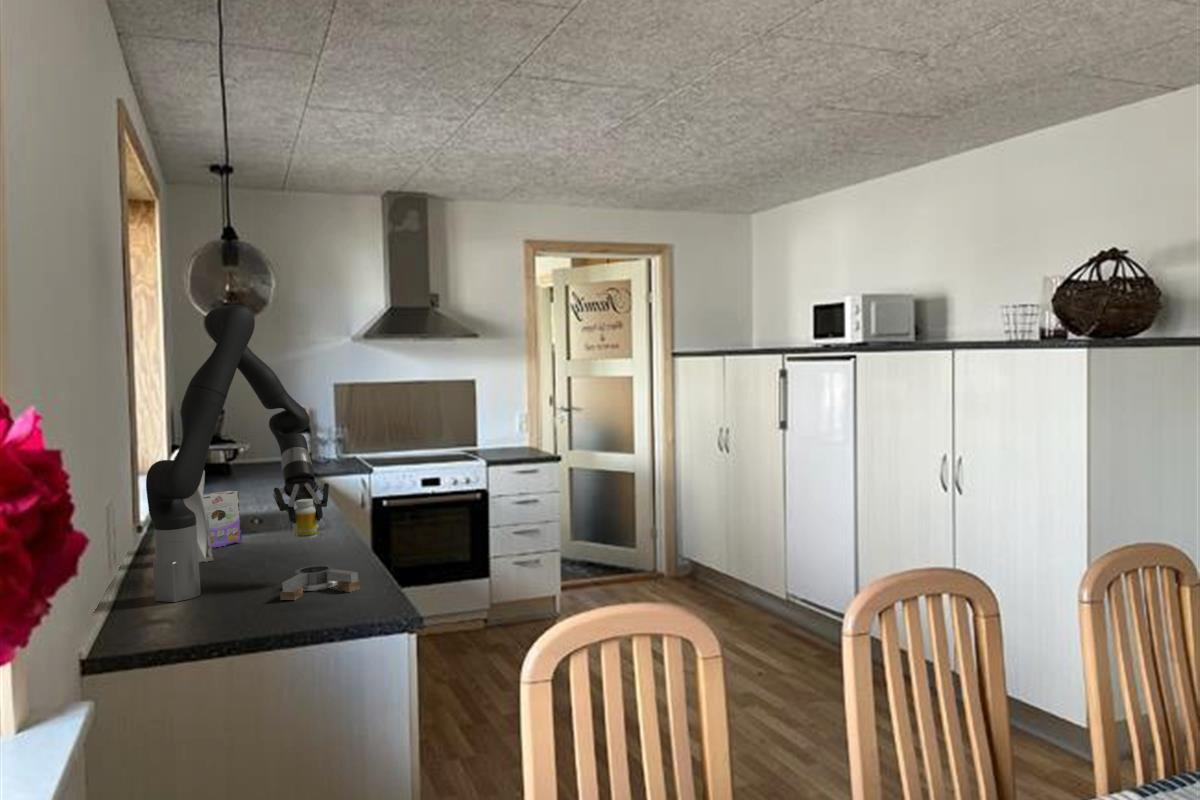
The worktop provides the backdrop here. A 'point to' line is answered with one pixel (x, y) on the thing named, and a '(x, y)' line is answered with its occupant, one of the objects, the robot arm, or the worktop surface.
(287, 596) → the blocks
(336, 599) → the worktop surface
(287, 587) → the angled shafts
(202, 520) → the skyscraper
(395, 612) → the worktop surface
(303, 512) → the supplement bottle
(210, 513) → the candy box
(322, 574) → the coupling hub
